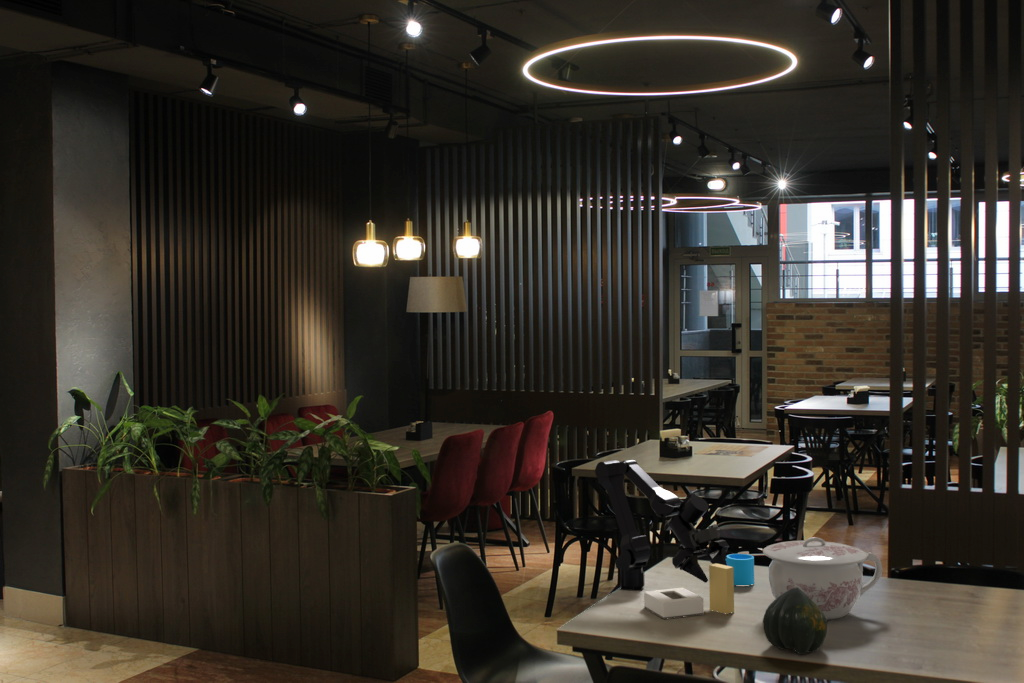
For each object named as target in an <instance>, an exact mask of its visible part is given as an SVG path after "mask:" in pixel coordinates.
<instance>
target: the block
mask: <svg viewBox="0 0 1024 683" xmlns="http://www.w3.org/2000/svg"><path fill="white" fill-rule="evenodd" d="M708 571H709V573H708V578H709V579H708V582H709V584H708V585H709V589H708V590H709V611H711V610H713V611H712V612H715V611H718V612H717V613H719V612H721V613H720V614H722V613H726V614H728V613H731V612H734V613H735V588H734V587H735V586H734V569H733V567H731V566H726V565H722V564H717V563H715V564H712V563H710V564H709V566H708ZM726 614H725V615H726ZM731 614H732V613H731ZM728 615H729V614H728Z"/></svg>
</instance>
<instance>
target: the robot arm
mask: <svg viewBox="0 0 1024 683" xmlns="http://www.w3.org/2000/svg"><path fill="white" fill-rule="evenodd" d="M594 473H595V476H596V479H597V480H598V483H599V484H600V485H601V486H602V488H603V489H604V490H606V492H607V494H608V498H609V501H610V504H611V507H612V509H613V512H614V516H615V520H616V523H617V525H618V529H619V531H620V532H619V533H620V534H621V540H620V546H619V548H620V549H619V550H620V554H619V556H618V557H617V558H616V559H615V561H614V563H615V567H616V569H619V570H620V586H619V589H620V588H621V589H620V590H625V591H626V590H628V591H629V590H631V591H642V590H643V587H645V583H646V582H645V571H643V567H646V566H648V562H649V559H650V557H651V549H652V547H651V545H650V543H649V540H648V537H647V535H645V534H644V535H641V534H640V532H639V531H638V528H637V527H636V522H635V519H634V517H633V514H632V513H633V512H632V509H631V507H630V505H629V501H628V498H627V495H626V492H625V489H624V482H625V477H626V478H627V479H629V481H630V482H631V483H632V484H633V485H634V486H635V487H636V488H637V489H638V490H639V491H640V492H641V493H642V494H643V495H645V497H646V498H647V499H648V501H649V505H650V507H651V509H652V510H653V511H654V513H655V515H656V516H657V517H659V518H667V517H670V519H669V520H667V519H666V520H665V521H664V523H665V524H664V527H663V529H664V531H670V530H671V531H672V532H673V534H674V535H675V536H676V538H677V539H678V542H677V545H678V546H679V547H681V546H682V547H683V548H680V549H679V550H678V552H677V553H676V554H675V555H674V556H673V557H672V559H671V563H672V565H673V566H674V568H675V570H676V569H679V570H680V571H684V572H685V573H686V574H687V573H688V574H690V575H691V576H693V577H695V578H696V579H698V580H700V581H702V582H703V583H704V584H705V583H707V582H709V579H708V577H707V575H706V573H705V572H704V570H703V569H702V567H701V565H700V564H699V559H698V558H701V557H705V556H706V557H707V559H709V560H710V561H709V562H710V564H715V563H717V564H722V565H726V566H727V562H726V559H727V558H726V553H727V551H728V548H729V547H730V545H729V543H728V542H727V541H726V540H724V539H719V538H720V535H721V534H722V533H721V532H722V531H721V529H720V527H719V526H718V525H717V524H716V523H714V524H711V525H709V526H708V527H707V528H704V529H700V528H696V527H695V526H694V525H693V524H696V523H698V521H700V519H702V517H703V516H704V514H706V512H707V511H708V510H709V504H708V502H707V500H706V499H703V498H702V497H700V496H699V495H697V494H695V492H689V493H688V494H687V495H686V497H685V498H684V500H681V499H680V498H679V497H678V496H677V495H676V494H674V493H673V492H672V491H669V490H666V489H664V488H663V487H661V486H660V485H658V483H656V481H654V479H653V478H652V477H651V476H649V474H648V473H647V472H646V471H645V470H644V469H643V468H641V466H640V465H639V464H638V462H637V461H636V460H634V459H626V460H622V461H619V460H618V459H612V460H611V459H610V460H605V461H603V460H602V461H600V462H598V463H597V464H596V466H595V469H594ZM715 539H719V540H715ZM713 540H715V541H713ZM712 541H713V542H712ZM708 546H709V547H708Z"/></svg>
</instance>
